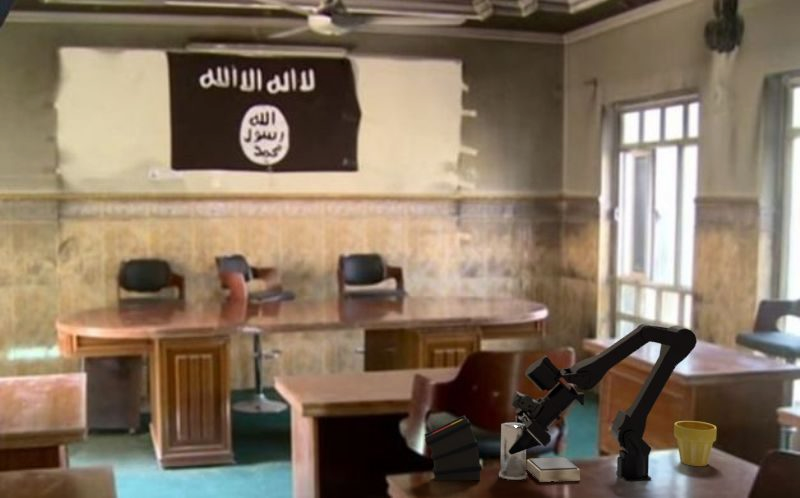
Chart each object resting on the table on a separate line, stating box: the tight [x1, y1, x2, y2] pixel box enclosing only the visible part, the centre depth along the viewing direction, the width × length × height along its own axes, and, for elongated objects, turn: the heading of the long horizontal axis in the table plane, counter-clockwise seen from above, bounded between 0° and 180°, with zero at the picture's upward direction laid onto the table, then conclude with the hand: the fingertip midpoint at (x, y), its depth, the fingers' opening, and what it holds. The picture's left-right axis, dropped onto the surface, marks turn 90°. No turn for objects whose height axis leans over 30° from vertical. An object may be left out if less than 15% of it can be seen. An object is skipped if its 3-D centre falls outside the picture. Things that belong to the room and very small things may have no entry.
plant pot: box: [673, 420, 718, 467], centre depth 232 cm, size 10×10×10 cm
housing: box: [498, 422, 528, 481], centre depth 218 cm, size 7×7×12 cm
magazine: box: [424, 415, 483, 482], centre depth 216 cm, size 4×13×15 cm, turn 94°
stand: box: [526, 456, 581, 483], centre depth 220 cm, size 10×10×3 cm
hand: (507, 449), depth 218 cm, fingers closed on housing, 6 cm apart
